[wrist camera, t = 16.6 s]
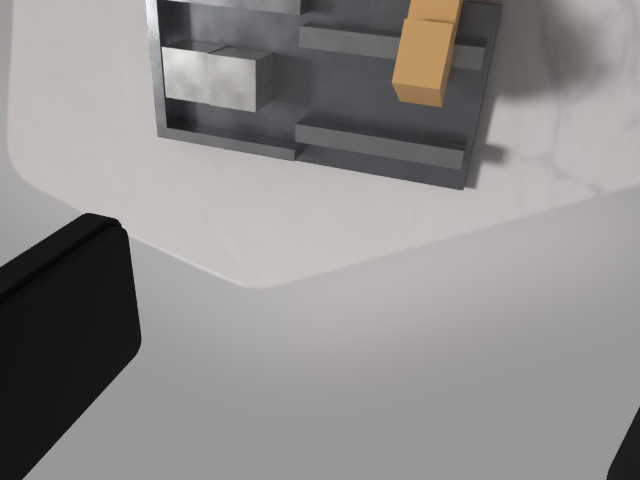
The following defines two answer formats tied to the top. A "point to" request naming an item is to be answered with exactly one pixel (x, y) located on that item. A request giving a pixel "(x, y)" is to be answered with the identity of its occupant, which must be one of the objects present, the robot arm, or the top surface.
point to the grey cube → (240, 78)
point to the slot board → (330, 85)
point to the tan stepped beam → (426, 51)
